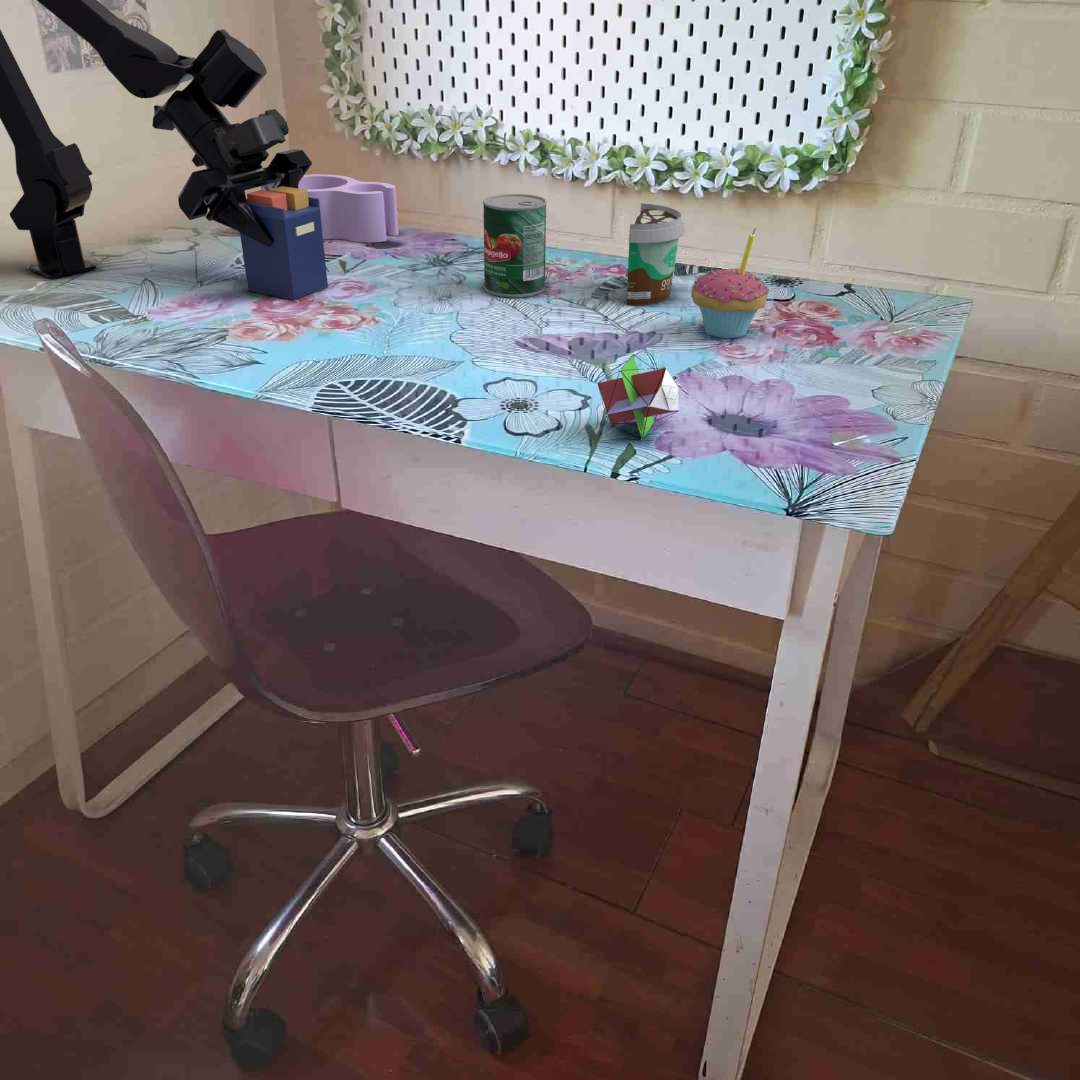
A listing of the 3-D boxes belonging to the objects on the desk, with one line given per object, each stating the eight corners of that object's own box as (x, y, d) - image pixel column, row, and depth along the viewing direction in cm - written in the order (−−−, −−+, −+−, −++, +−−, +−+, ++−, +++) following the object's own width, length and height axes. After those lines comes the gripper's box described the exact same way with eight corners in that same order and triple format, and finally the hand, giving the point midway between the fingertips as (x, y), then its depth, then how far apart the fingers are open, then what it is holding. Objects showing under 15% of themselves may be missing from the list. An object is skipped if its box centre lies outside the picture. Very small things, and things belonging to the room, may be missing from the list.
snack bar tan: (270, 206, 122) (268, 189, 121) (284, 202, 124) (282, 186, 123) (295, 210, 120) (293, 193, 119) (309, 206, 122) (307, 189, 121)
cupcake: (767, 324, 116) (781, 220, 110) (756, 348, 109) (770, 238, 103) (695, 316, 118) (705, 214, 112) (680, 339, 112) (689, 231, 105)
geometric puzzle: (569, 412, 88) (625, 352, 84) (593, 385, 94) (647, 327, 89) (628, 466, 89) (686, 409, 84) (648, 436, 95) (704, 381, 90)
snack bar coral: (248, 210, 120) (246, 193, 119) (262, 206, 122) (260, 189, 121) (273, 214, 118) (271, 197, 117) (287, 210, 120) (285, 193, 119)
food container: (675, 312, 120) (682, 228, 115) (624, 308, 121) (629, 224, 116) (683, 283, 130) (689, 204, 125) (636, 279, 131) (641, 202, 126)
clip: (411, 228, 153) (408, 182, 150) (371, 247, 143) (367, 198, 140) (301, 216, 159) (296, 171, 156) (255, 233, 150) (248, 186, 146)
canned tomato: (474, 293, 125) (472, 204, 120) (498, 276, 132) (497, 191, 126) (533, 300, 123) (533, 210, 117) (554, 283, 129) (555, 196, 124)
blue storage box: (248, 291, 125) (235, 201, 119) (283, 278, 130) (272, 191, 124) (295, 300, 122) (284, 209, 116) (329, 287, 127) (320, 198, 121)
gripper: (177, 96, 109) (267, 211, 110) (291, 79, 123) (369, 182, 124) (141, 164, 116) (225, 271, 117) (252, 141, 130) (326, 237, 131)
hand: (290, 238), depth 122 cm, fingers closed on blue storage box, 6 cm apart
